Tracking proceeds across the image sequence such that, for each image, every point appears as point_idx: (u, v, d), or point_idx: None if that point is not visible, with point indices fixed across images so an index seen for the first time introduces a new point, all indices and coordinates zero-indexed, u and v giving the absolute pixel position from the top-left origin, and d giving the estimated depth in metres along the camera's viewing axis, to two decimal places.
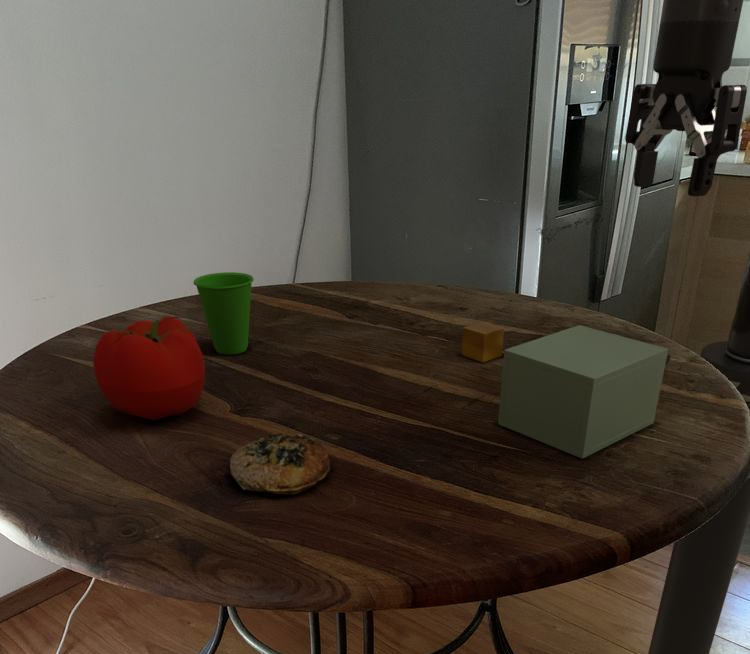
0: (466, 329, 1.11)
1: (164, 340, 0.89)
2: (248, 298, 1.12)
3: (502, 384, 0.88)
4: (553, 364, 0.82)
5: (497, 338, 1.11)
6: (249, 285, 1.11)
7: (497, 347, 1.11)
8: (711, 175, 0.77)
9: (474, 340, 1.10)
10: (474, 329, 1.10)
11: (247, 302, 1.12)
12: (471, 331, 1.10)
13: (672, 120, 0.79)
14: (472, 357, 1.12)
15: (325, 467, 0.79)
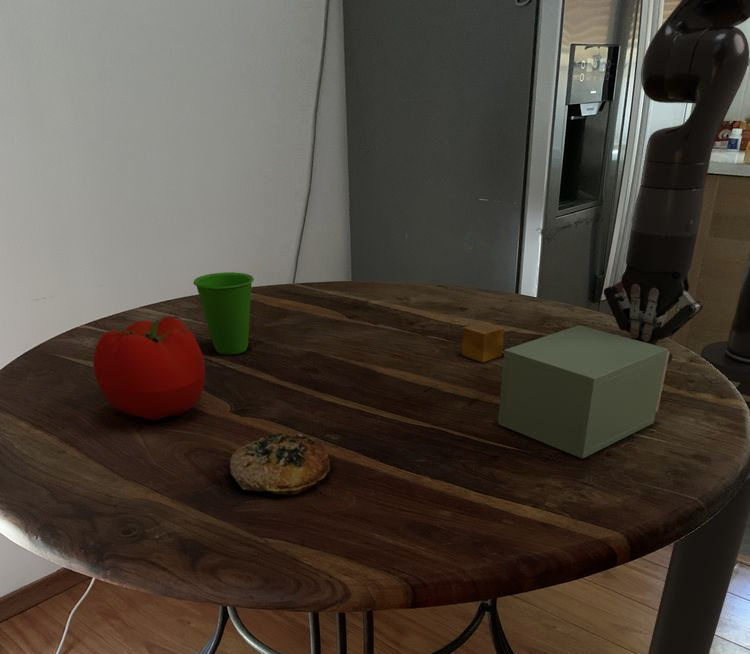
0: (466, 329, 1.11)
1: (164, 340, 0.89)
2: (248, 298, 1.12)
3: (502, 384, 0.88)
4: (553, 364, 0.82)
5: (497, 338, 1.11)
6: (249, 285, 1.11)
7: (497, 347, 1.11)
8: None
9: (474, 340, 1.10)
10: (474, 329, 1.10)
11: (247, 302, 1.12)
12: (471, 331, 1.10)
13: (644, 305, 0.91)
14: (472, 357, 1.12)
15: (325, 467, 0.79)
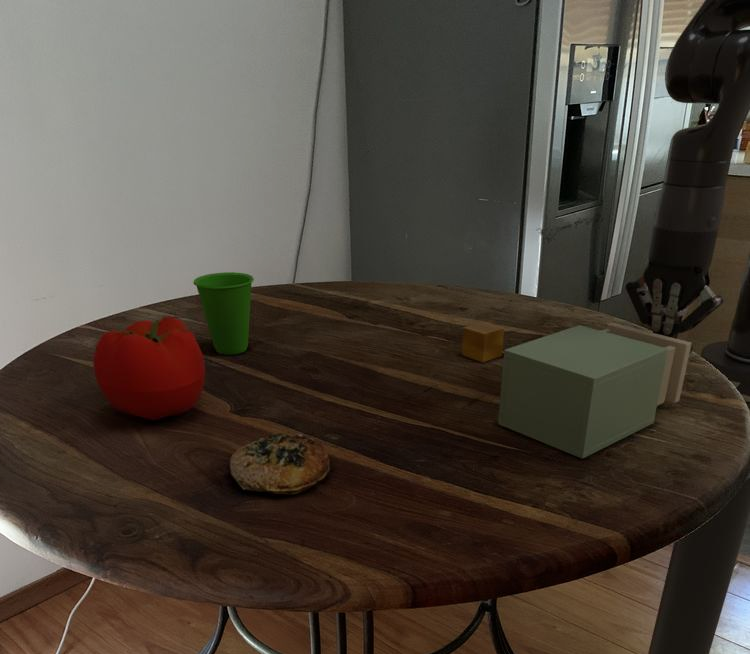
0: (466, 329, 1.11)
1: (164, 340, 0.89)
2: (248, 298, 1.12)
3: (502, 384, 0.88)
4: (553, 364, 0.82)
5: (497, 338, 1.11)
6: (249, 285, 1.11)
7: (497, 347, 1.11)
8: None
9: (474, 340, 1.10)
10: (474, 329, 1.10)
11: (247, 302, 1.12)
12: (471, 331, 1.10)
13: (666, 299, 0.94)
14: (472, 357, 1.12)
15: (325, 467, 0.79)
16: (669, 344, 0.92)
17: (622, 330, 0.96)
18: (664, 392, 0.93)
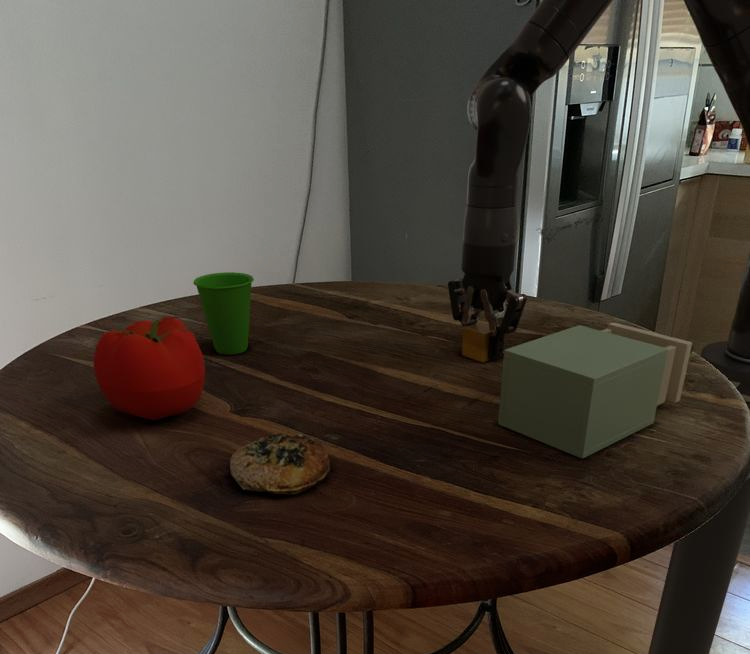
0: (466, 329, 1.11)
1: (164, 340, 0.89)
2: (248, 298, 1.12)
3: (502, 384, 0.88)
4: (553, 364, 0.82)
5: None
6: (249, 285, 1.11)
7: None
8: (502, 346, 1.10)
9: (474, 340, 1.10)
10: (474, 329, 1.10)
11: (247, 302, 1.12)
12: (471, 331, 1.10)
13: (479, 303, 1.09)
14: (472, 357, 1.12)
15: (325, 467, 0.79)
16: (670, 344, 0.92)
17: (623, 330, 0.96)
18: (665, 392, 0.93)
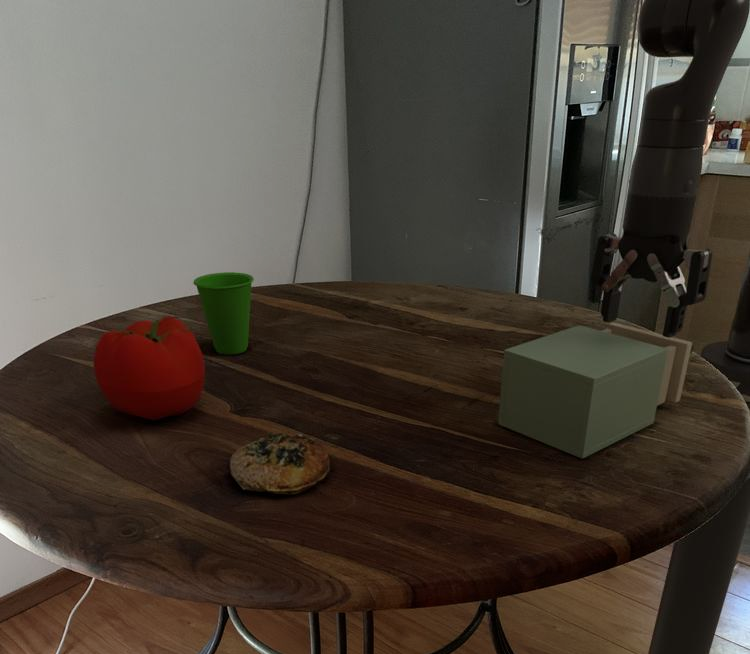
0: None
1: (164, 340, 0.89)
2: (248, 298, 1.12)
3: (502, 384, 0.88)
4: (553, 364, 0.82)
5: None
6: (249, 285, 1.11)
7: None
8: (682, 320, 0.88)
9: None
10: None
11: (247, 302, 1.12)
12: None
13: (642, 272, 0.88)
14: None
15: (325, 467, 0.79)
16: (670, 344, 0.92)
17: (623, 330, 0.96)
18: (665, 392, 0.93)
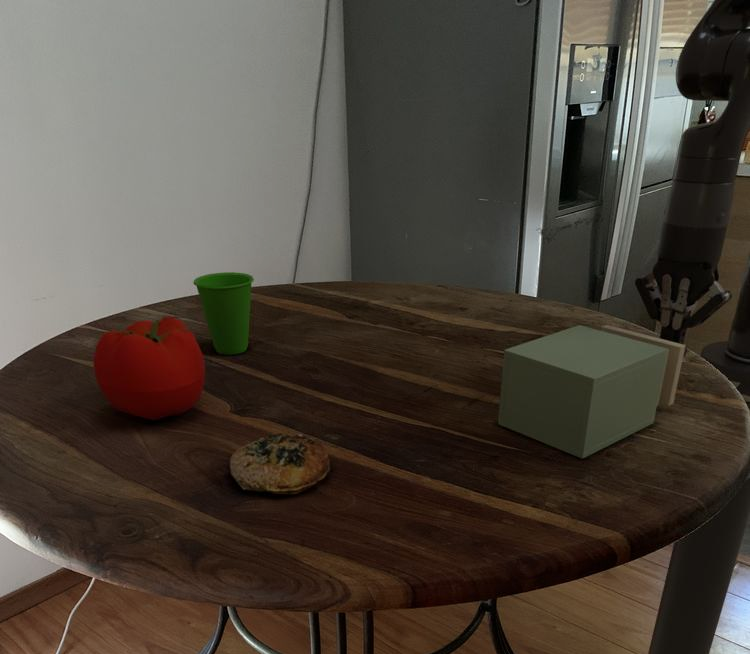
0: None
1: (164, 340, 0.89)
2: (248, 298, 1.12)
3: (502, 384, 0.88)
4: (553, 364, 0.82)
5: None
6: (249, 285, 1.11)
7: None
8: (683, 340, 0.98)
9: None
10: None
11: (247, 302, 1.12)
12: None
13: (675, 294, 0.95)
14: None
15: (325, 466, 0.79)
16: (663, 346, 0.91)
17: (616, 332, 0.95)
18: None
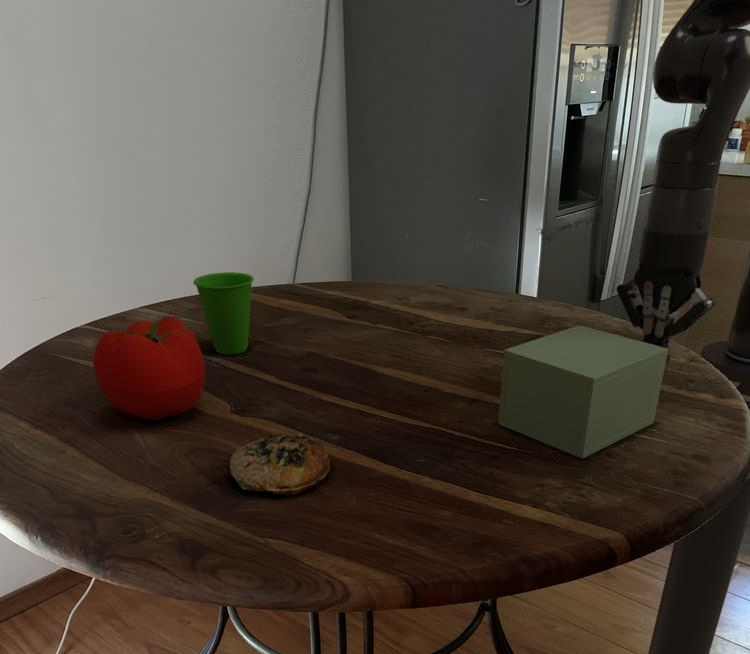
0: None
1: (164, 340, 0.89)
2: (248, 298, 1.12)
3: (502, 384, 0.88)
4: (553, 364, 0.82)
5: None
6: (249, 285, 1.11)
7: None
8: None
9: None
10: None
11: (247, 302, 1.12)
12: None
13: (657, 301, 0.93)
14: None
15: (325, 467, 0.79)
16: None
17: None
18: None
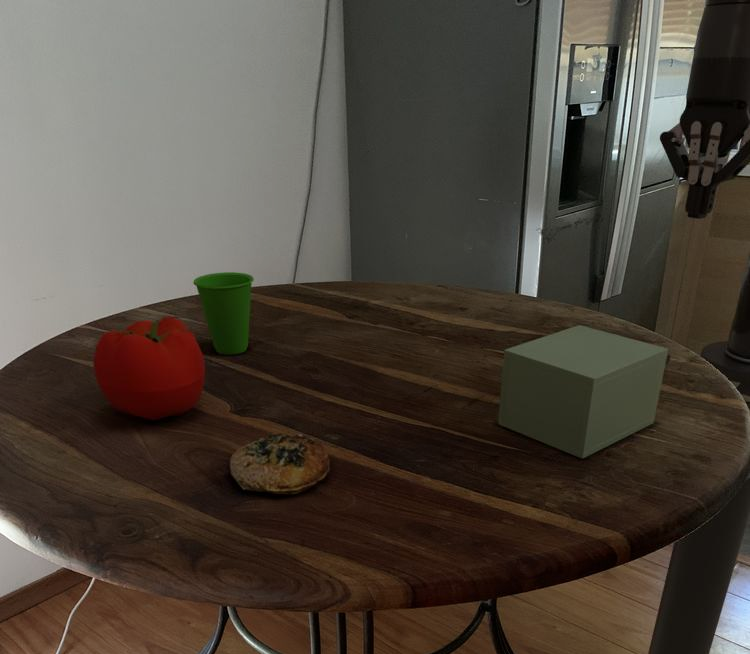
0: None
1: (164, 340, 0.89)
2: (248, 298, 1.12)
3: (502, 384, 0.88)
4: (553, 364, 0.82)
5: None
6: (249, 285, 1.11)
7: None
8: (713, 200, 0.89)
9: None
10: None
11: (247, 302, 1.12)
12: None
13: (705, 144, 0.86)
14: None
15: (325, 467, 0.79)
16: None
17: None
18: None
